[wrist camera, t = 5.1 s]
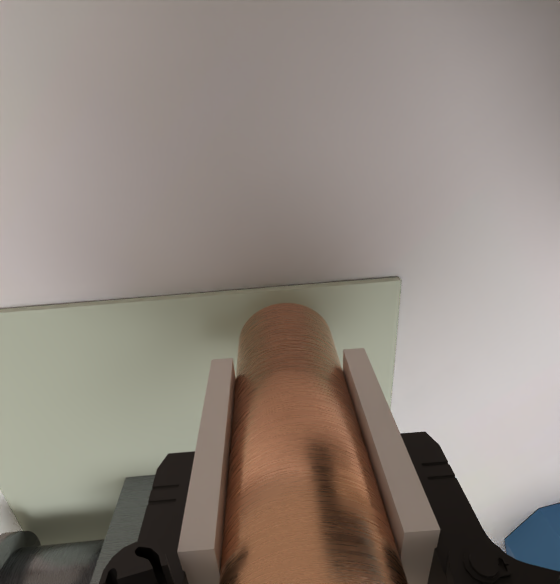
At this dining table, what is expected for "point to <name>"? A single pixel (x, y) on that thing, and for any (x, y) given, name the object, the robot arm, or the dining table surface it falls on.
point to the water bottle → (537, 539)
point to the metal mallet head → (75, 545)
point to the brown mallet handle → (300, 464)
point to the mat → (139, 387)
